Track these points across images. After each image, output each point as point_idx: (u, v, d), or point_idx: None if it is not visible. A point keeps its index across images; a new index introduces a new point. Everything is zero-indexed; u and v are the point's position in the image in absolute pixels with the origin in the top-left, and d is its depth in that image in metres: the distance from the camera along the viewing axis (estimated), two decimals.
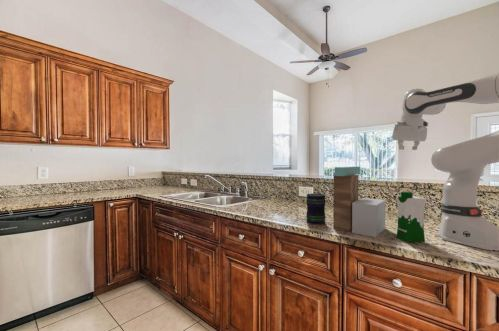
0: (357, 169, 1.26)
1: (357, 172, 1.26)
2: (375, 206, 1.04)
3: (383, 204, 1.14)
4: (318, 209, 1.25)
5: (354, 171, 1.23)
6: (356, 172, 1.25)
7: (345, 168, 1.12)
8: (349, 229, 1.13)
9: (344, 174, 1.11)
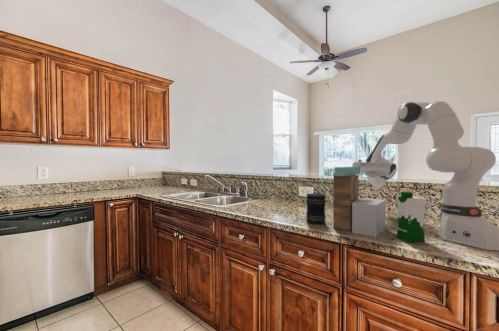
0: (357, 169, 1.26)
1: (357, 172, 1.26)
2: (375, 206, 1.04)
3: (383, 204, 1.14)
4: (318, 209, 1.25)
5: (354, 171, 1.23)
6: (356, 172, 1.25)
7: (345, 168, 1.12)
8: (349, 229, 1.13)
9: (344, 174, 1.11)
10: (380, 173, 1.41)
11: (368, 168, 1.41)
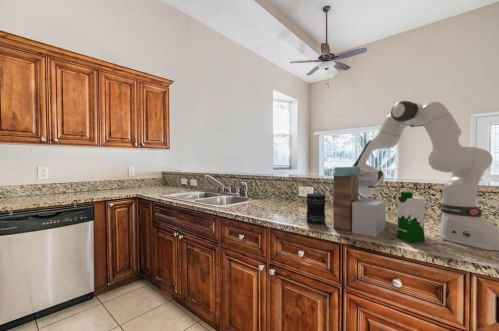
0: (357, 169, 1.26)
1: (357, 172, 1.26)
2: (375, 206, 1.04)
3: (383, 204, 1.14)
4: (318, 209, 1.25)
5: (354, 171, 1.23)
6: (356, 172, 1.25)
7: (345, 168, 1.12)
8: (349, 229, 1.13)
9: (344, 174, 1.11)
10: (367, 183, 1.32)
11: None
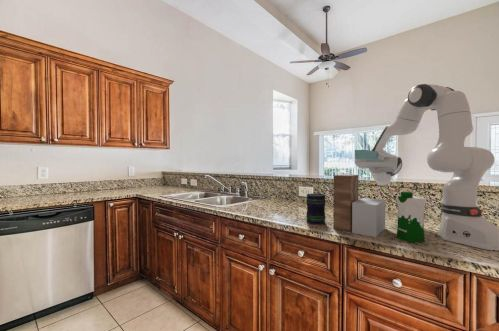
0: (375, 154, 1.21)
1: (376, 157, 1.21)
2: (375, 206, 1.04)
3: (383, 204, 1.14)
4: (318, 209, 1.25)
5: (373, 156, 1.18)
6: (375, 157, 1.20)
7: (366, 151, 1.07)
8: (349, 229, 1.13)
9: (365, 157, 1.06)
10: (386, 169, 1.27)
11: (372, 163, 1.27)
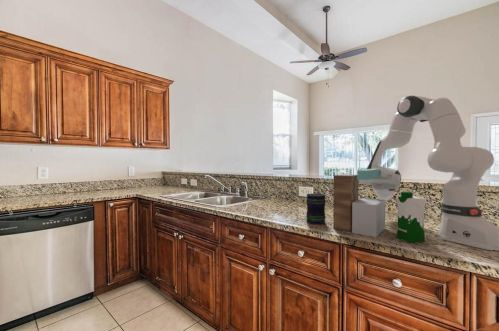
0: (378, 172, 1.19)
1: (378, 175, 1.19)
2: (375, 206, 1.04)
3: (383, 204, 1.14)
4: (318, 209, 1.25)
5: (376, 174, 1.16)
6: (377, 175, 1.18)
7: (368, 171, 1.05)
8: (349, 229, 1.13)
9: (367, 178, 1.04)
10: (388, 186, 1.25)
11: (375, 180, 1.25)
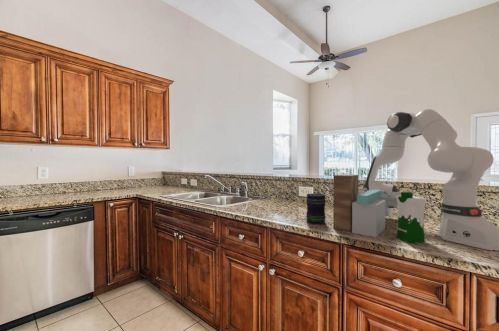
0: (378, 194, 1.19)
1: (378, 197, 1.19)
2: (375, 206, 1.04)
3: (383, 204, 1.14)
4: (318, 209, 1.25)
5: (376, 197, 1.16)
6: (377, 197, 1.18)
7: (368, 196, 1.05)
8: (349, 229, 1.13)
9: (367, 203, 1.04)
10: (388, 203, 1.25)
11: None
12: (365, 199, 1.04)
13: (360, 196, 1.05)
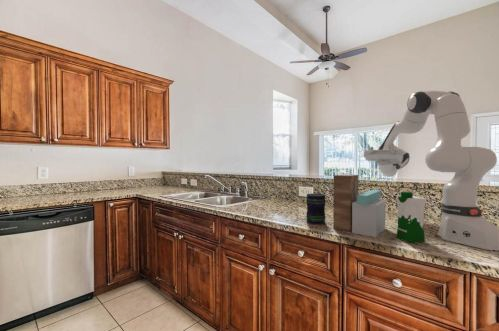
0: (378, 194, 1.19)
1: (378, 197, 1.19)
2: (375, 206, 1.04)
3: (383, 204, 1.14)
4: (318, 209, 1.25)
5: (376, 197, 1.16)
6: (377, 197, 1.18)
7: (368, 196, 1.05)
8: (349, 229, 1.13)
9: (367, 203, 1.04)
10: (392, 161, 1.38)
11: (380, 156, 1.39)
12: (365, 199, 1.04)
13: (360, 196, 1.05)
